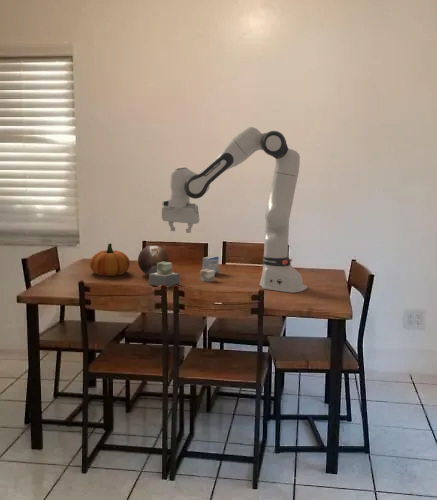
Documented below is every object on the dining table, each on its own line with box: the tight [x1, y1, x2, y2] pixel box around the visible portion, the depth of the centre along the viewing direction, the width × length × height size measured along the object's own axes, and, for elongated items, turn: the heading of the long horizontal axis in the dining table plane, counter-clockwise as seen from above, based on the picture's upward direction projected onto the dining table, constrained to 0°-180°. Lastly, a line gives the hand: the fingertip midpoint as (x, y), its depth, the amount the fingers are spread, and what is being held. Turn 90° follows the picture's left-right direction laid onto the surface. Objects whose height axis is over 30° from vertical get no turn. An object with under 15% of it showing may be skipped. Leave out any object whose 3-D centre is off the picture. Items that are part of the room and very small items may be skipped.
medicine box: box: [201, 255, 220, 275], centre depth 310 cm, size 8×4×9 cm, turn 143°
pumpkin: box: [89, 243, 131, 277], centre depth 304 cm, size 19×19×15 cm
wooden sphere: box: [137, 244, 169, 276], centre depth 303 cm, size 15×15×15 cm
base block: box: [148, 271, 180, 287], centre depth 285 cm, size 10×10×5 cm
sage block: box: [157, 261, 173, 275], centre depth 284 cm, size 5×5×5 cm
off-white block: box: [199, 269, 216, 283], centre depth 295 cm, size 5×5×5 cm
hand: (180, 231), depth 289 cm, fingers open, 8 cm apart
